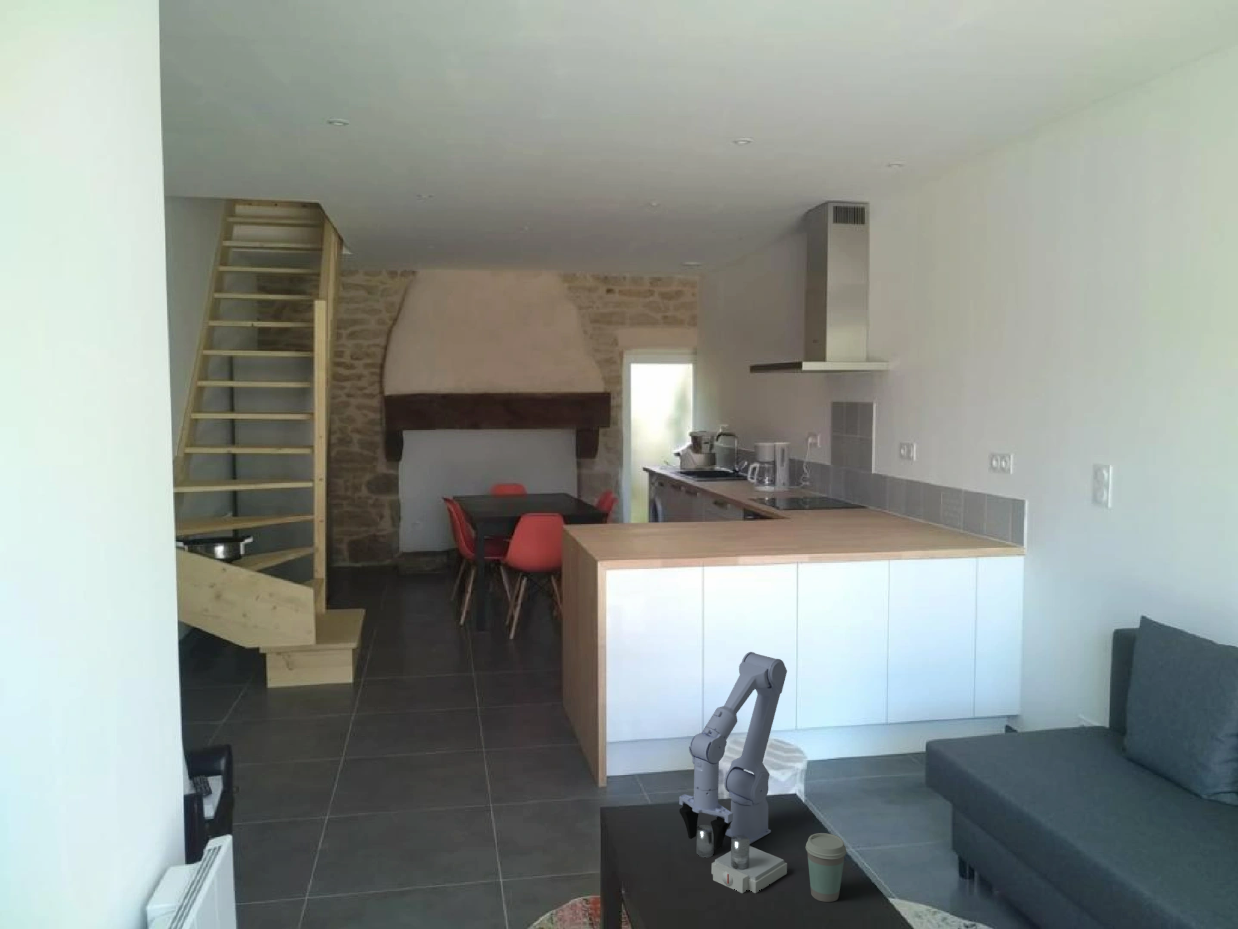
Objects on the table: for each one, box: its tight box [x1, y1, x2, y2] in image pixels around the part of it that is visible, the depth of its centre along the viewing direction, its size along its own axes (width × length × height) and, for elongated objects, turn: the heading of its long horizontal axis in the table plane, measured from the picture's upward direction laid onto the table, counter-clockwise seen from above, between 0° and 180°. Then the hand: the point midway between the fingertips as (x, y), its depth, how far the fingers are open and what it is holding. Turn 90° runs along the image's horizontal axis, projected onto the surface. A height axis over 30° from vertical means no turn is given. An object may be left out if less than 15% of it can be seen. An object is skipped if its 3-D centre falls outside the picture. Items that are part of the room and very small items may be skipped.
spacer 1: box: [696, 824, 715, 859], centre depth 218 cm, size 4×4×6 cm
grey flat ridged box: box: [711, 845, 788, 894], centre depth 208 cm, size 14×12×3 cm
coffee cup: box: [805, 832, 847, 903], centre depth 200 cm, size 8×9×12 cm
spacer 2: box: [730, 835, 751, 870], centre depth 206 cm, size 4×4×6 cm
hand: (705, 842), depth 218 cm, fingers open, 7 cm apart
